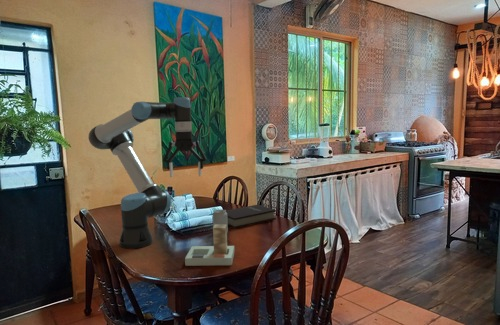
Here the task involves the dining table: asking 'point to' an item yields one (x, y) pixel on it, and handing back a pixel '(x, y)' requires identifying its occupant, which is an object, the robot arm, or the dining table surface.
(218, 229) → the maple peg
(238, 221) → the book
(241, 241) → the dining table surface
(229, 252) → the socket board
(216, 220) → the can
